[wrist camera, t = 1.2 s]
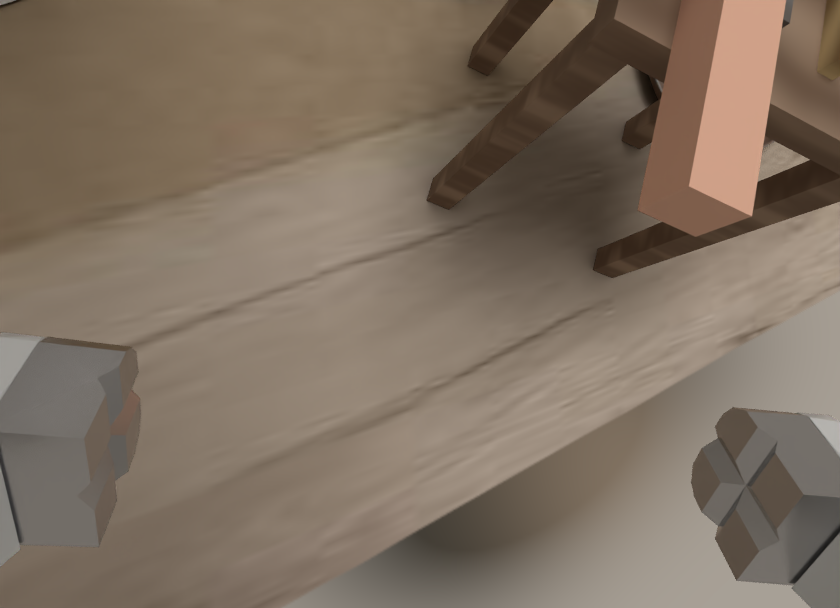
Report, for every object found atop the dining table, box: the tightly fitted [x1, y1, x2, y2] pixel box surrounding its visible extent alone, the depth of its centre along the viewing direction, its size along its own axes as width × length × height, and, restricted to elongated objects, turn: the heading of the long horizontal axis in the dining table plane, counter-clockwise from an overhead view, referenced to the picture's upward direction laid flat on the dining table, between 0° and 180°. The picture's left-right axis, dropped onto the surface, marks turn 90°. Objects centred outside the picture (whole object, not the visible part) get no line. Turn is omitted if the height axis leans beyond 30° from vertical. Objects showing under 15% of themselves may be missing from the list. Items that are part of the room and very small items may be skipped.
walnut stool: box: [427, 0, 840, 278], centre depth 44 cm, size 16×19×28 cm
